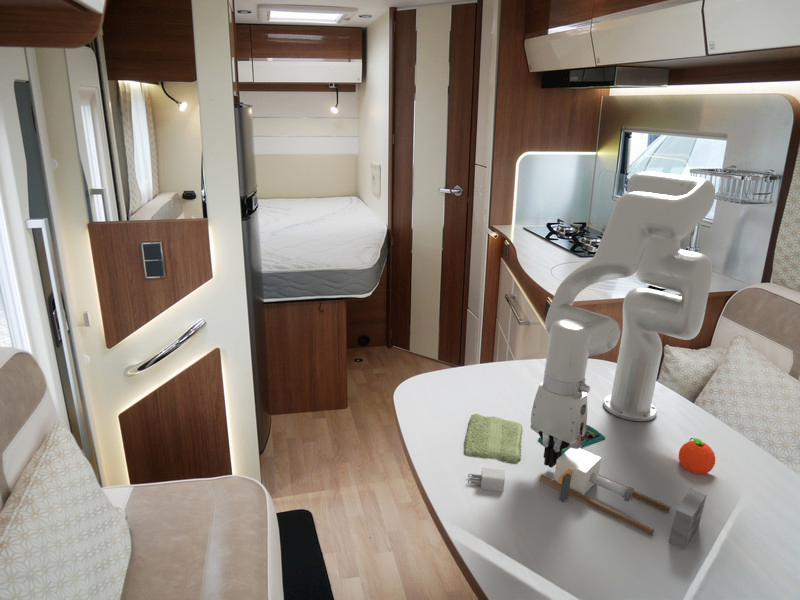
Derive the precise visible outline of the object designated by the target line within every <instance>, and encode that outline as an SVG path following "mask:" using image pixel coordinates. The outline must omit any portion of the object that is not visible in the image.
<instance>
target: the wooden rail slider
mask: <svg viewBox="0 0 800 600" xmlns="http://www.w3.org/2000/svg"><path fill="white" fill-rule="evenodd" d="M599 476H602V477H604V478H606V479H608V480H610V481H613V482H615V483H617V484H619V485H621V486H623V487H626V488H628V487H629V486H628V487H627V486H626V485H623V484H621V483H619V482H617V481H615V480H612V479H610V478H609V477H606V476H604V475H602V474H599ZM539 481H540V482H542V483H544V484H546V485H548V486H549V487H552V488H553V489H556V490H558V491H560V492H561V487H562V484H560V483H558V482H556V481H554V479H552V478H550V477H547V476H546V475H543V474H542V475H540V478H539ZM568 496H571V497H573V499H576V500H579V501H580V502H582V503H584V504H586V505H589V506H590V507H592V508H594V509H596V510H598V511H600V512H602V513H605V514H607V516H608V515H609V516H610V517H612V518H614V519H617V520H618V521H621V522H623V523H624V524H627V525H629V526H630V527H633V528H635V529H636V530H639V531H641V532H643V533H645V534H647V535H648V536H651V537H652V536H653V535H654V532H655V528H652V527H650V526H648V525H646V524H644V523H643V522H640V521H638V520H636V519H634V518H632V517H630V516H628V515H626V514H623V513H622V512H619V511H618V510H616V509H613V508H611V507H609V506H607V505H606V504H603V503H601V502H599V501H597V500H595V499H593V498H591V497H589V496H587V495H585V494H584V495H583V494H581V493H579V492H576V491H574V490H572V489H570V488H569V494H568ZM707 496H708V495H707V494H705V493H703V492H700V491H698V490H695V489H694V488H690V489H689V491H688V492H687V494H686V495H685V496H684V498H683V500H682V501H681V502H680V503H679V504H678V506H677V508H676V509H675V513H674V516H673V522H672V526H671V531H670V534H669V538H668V543H670V544H672V545H673V546H675V547H678V548H679V549H682V550H685V549H686V547H687V546H688V544H689V543H690V542H691V540H692V538H693V536H694V535H695V533H696V531H698V529H699V526H700V522H701V519H702V515H703V510H704V507H705V503H706V499H707ZM632 498H635V499H636V500H639V501H641V502H643V503H645V504H647V505H649V506H652V507H654V508H656V509H659V510H661V511H662V512H665V513H667V514H669V513H670V511H671V506H669V505H667V504H665V503H663V502H661V501H659V500H656V499H654V498H652V497H649V496H647V495H645V494H643V493H641V492H639V491H637V490H635V489H634V493H633V496H632Z"/></svg>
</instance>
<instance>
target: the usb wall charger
mask: <svg viewBox="0 0 800 600" xmlns="http://www.w3.org/2000/svg"><path fill="white" fill-rule="evenodd" d="M505 471H506V470H505V469H501V468H500V469H499V468H493V467H492V468H491V467H484V466H482V468H481V474H474V473H468V475H467V477H468V478H471V479H467V484H470V485H477V486H480V489H482V490H489V491H497V492H504V490H505V482H506V480H505V478H506V477H505V476H506V475H505ZM473 479H480V480H473Z"/></svg>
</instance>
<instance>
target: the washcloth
mask: <svg viewBox="0 0 800 600" xmlns="http://www.w3.org/2000/svg"><path fill="white" fill-rule="evenodd" d="M466 431H467V432H466V434H465V439H464V447H463V448H464V449H463V450H464V456H466V457H475V458H478V457H479V458H484V459H494V460H499V461H501V462H506V463H510V464H515V465H516V464H518V463H519V462H521V460H522V458H521V456H522V438H523V436H522V435H523V431H524V430H523V425H522V424H521V423H519V422H518V421H512V420H508V419H504V418H501V417H497V416H485V415H482V414H479V413H473V414H471V415H470V418H469V422H468V426H467V429H466Z"/></svg>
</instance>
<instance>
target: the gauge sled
mask: <svg viewBox="0 0 800 600" xmlns="http://www.w3.org/2000/svg"><path fill="white" fill-rule="evenodd" d="M601 464H602V457H601V456H599V455H596V454H594V453H592V452H590V451H588V450H585V449H583V448H579V449H573V448H570V449H568V450H567V451H566V452H565V453H564V454H563V455H561V456H560V457H559V458H558V459H557V461H556V465H555V468H554V469H555V470H554V476H553V480H554V481H556V482H558V483H560V484H562V481H563V476H565V475H566V474H567V473H568V474H570V475H571V482H570V489H572V490H574V491H576V492H579V493H581V494H583V495H585V494H586V493H588V492H589V490H591V488H592V487H593V486H594V485H596V486H599V487H601V488H603V489H605V490H607V491H609V492H611V493H613V494H616V495H618V496H620V497H622V498H623V500H624V501H623V502H627V503H630V502H631V500H632V498H633V497H632V496H633V493H634V490H635V488H634V487H632V486H628V488H626V487H627V486H626V487H623V486H621V485H622V484H621V485H619V484H620V483H619V484H617V483H618V482H617V483H615V482H616V481H615V482H613V481H614V480H613V481H610V480H611V479H610V480H608V479H609V478H608V479H606V478H607V477H606V478H604V477H605V476H604V477H602V476H603V475H602V476H599V475H600V474H599V473H600V469H601Z"/></svg>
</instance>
